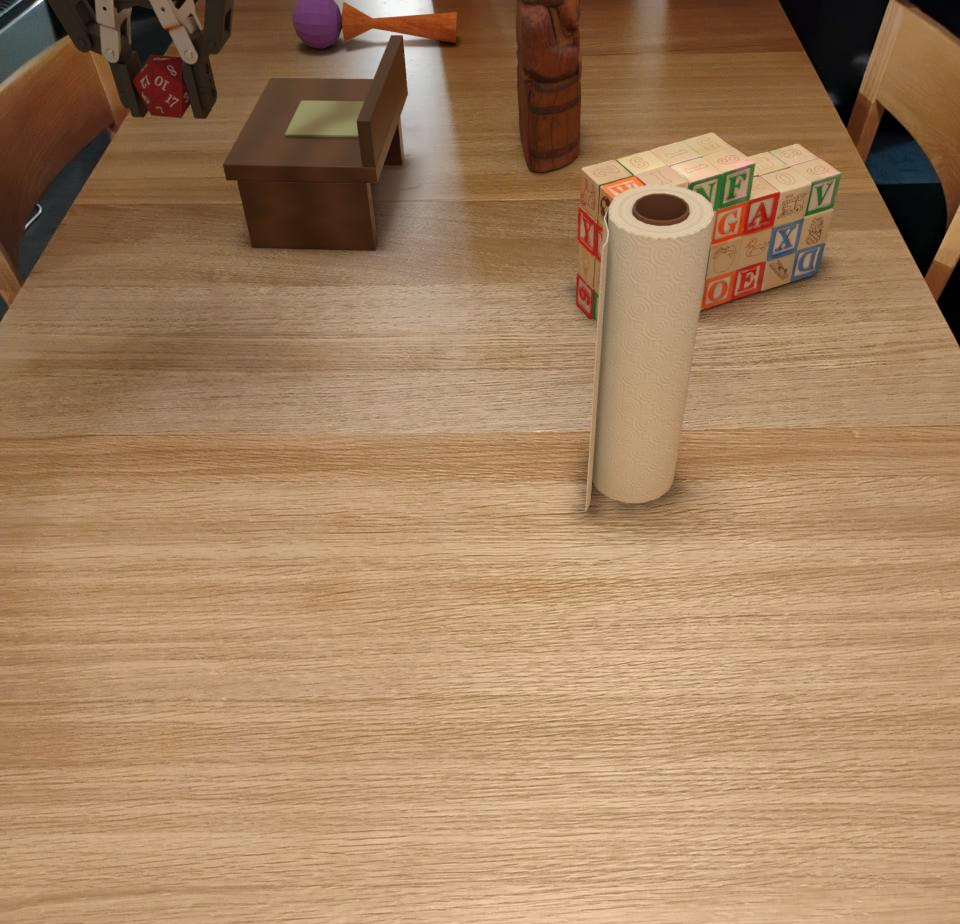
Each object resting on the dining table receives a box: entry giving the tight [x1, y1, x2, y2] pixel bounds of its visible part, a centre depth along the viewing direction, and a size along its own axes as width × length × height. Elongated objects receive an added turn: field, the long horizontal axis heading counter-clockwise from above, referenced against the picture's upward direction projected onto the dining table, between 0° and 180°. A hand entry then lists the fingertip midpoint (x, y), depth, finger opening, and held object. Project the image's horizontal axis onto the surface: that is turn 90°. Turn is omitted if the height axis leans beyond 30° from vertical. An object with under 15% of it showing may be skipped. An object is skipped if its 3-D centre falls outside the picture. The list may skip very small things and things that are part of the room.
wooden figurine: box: [515, 0, 583, 173], centre depth 99 cm, size 12×6×18 cm, turn 3°
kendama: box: [291, 0, 458, 50], centre depth 123 cm, size 6×6×20 cm
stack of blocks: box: [575, 132, 842, 320], centre depth 84 cm, size 21×6×12 cm, turn 114°
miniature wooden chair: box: [222, 34, 409, 251], centre depth 96 cm, size 14×18×12 cm
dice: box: [133, 54, 191, 119], centre depth 70 cm, size 4×4×4 cm
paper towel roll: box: [584, 185, 714, 512], centre depth 65 cm, size 7×6×21 cm
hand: (172, 112), depth 71 cm, fingers closed on dice, 4 cm apart
